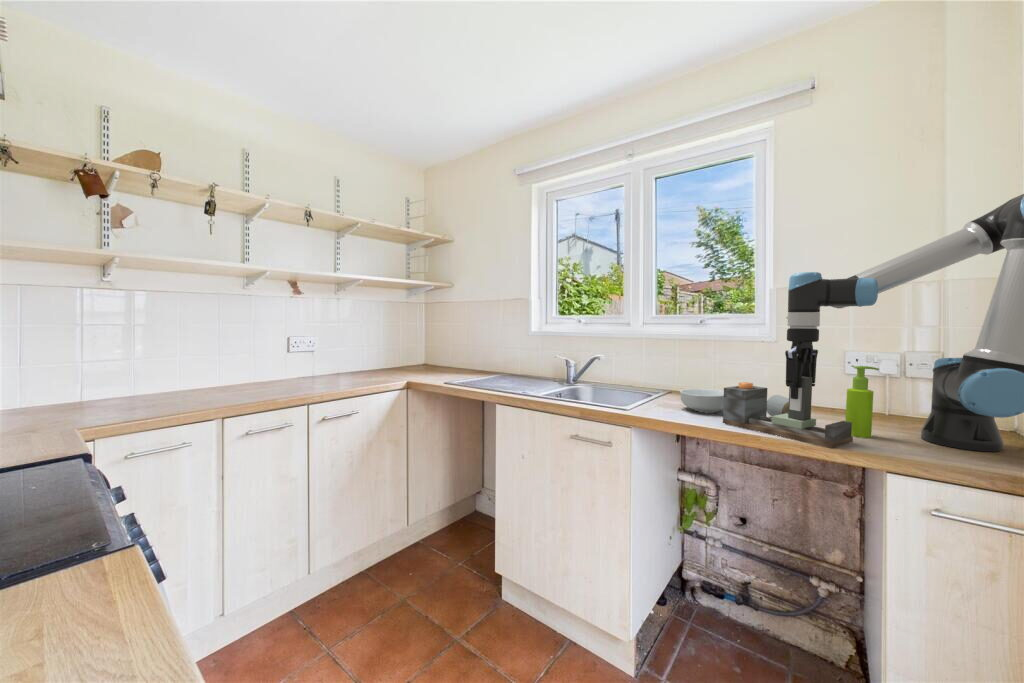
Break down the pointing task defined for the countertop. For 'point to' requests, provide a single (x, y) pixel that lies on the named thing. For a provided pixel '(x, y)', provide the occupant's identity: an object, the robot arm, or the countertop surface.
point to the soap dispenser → (860, 404)
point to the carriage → (799, 417)
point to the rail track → (751, 414)
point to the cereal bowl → (703, 399)
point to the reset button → (745, 385)
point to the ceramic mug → (777, 405)
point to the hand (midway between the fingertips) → (799, 409)
